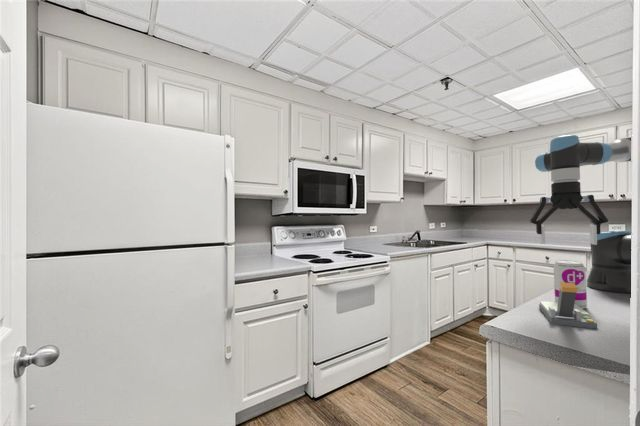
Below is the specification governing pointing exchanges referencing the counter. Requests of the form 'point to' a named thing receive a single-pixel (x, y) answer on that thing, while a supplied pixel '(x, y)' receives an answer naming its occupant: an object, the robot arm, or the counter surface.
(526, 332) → the counter surface
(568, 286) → the breaker lever
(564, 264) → the supplement can
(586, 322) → the panel
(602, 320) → the counter surface
